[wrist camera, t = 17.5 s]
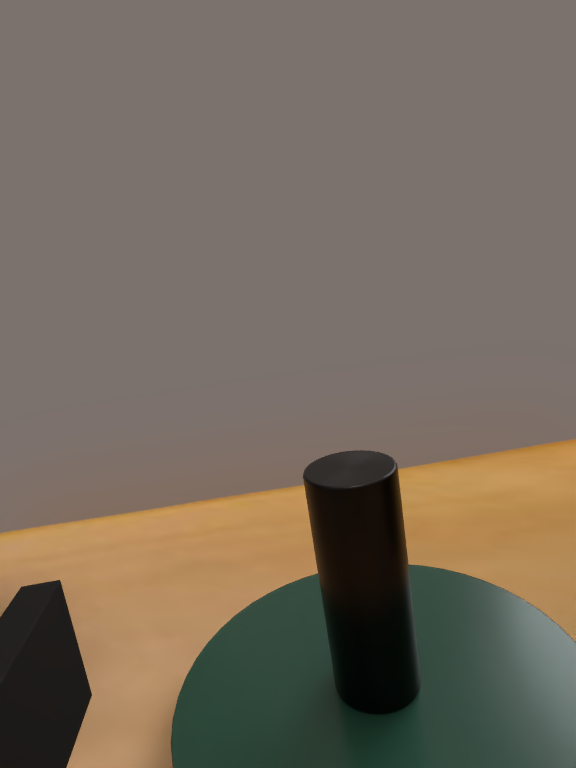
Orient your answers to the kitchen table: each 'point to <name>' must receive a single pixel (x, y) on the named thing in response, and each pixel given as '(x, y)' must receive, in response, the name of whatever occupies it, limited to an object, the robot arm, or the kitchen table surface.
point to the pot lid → (378, 656)
